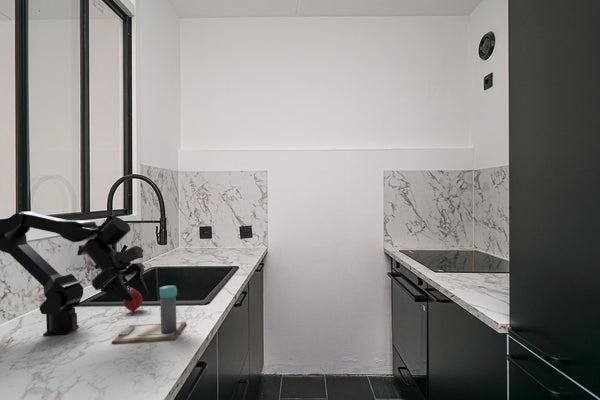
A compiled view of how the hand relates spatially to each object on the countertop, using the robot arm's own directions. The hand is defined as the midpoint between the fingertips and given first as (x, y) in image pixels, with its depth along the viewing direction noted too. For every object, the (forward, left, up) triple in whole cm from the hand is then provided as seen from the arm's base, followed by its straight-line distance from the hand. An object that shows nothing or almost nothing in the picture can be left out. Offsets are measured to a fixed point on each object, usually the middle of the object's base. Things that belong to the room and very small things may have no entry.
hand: (139, 297), depth 99 cm
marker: (+8, -2, -9) cm, 12 cm away
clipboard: (+3, -1, -10) cm, 10 cm away
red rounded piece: (-10, +21, -10) cm, 25 cm away
